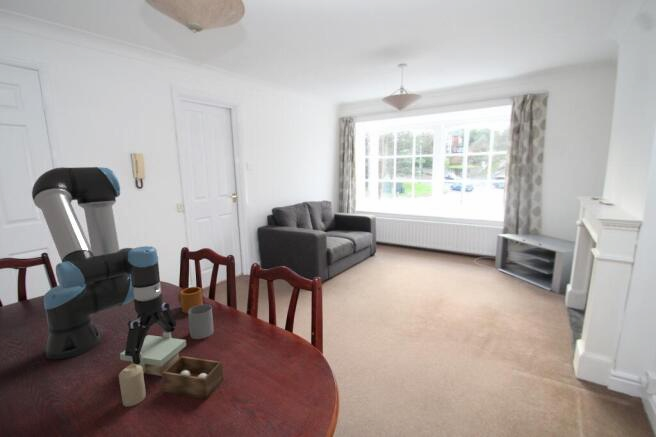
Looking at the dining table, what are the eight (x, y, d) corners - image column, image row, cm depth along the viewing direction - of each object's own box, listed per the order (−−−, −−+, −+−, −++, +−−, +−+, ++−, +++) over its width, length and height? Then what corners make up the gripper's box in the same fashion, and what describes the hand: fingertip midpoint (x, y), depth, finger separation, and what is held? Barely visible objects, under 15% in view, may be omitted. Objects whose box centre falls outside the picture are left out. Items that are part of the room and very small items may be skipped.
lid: (120, 359, 94) (119, 353, 93) (148, 340, 104) (148, 334, 104) (161, 366, 90) (160, 360, 90) (186, 345, 101) (185, 340, 100)
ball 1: (176, 383, 88) (175, 374, 88) (184, 376, 92) (183, 367, 91) (186, 385, 88) (185, 375, 87) (193, 378, 91) (192, 368, 90)
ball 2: (194, 387, 87) (193, 377, 87) (201, 379, 90) (200, 369, 90) (204, 388, 86) (203, 378, 86) (211, 381, 89) (210, 371, 89)
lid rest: (131, 370, 96) (130, 359, 95) (149, 357, 103) (148, 346, 102) (163, 376, 93) (162, 364, 93) (179, 362, 100) (178, 351, 99)
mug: (190, 301, 146) (189, 284, 145) (207, 307, 140) (206, 289, 139) (173, 308, 139) (172, 290, 137) (189, 315, 132) (188, 295, 131)
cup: (205, 340, 113) (203, 315, 111) (185, 338, 114) (183, 313, 113) (217, 328, 121) (215, 305, 119) (199, 326, 123) (197, 303, 121)
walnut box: (164, 391, 87) (162, 372, 86) (183, 373, 95) (181, 355, 94) (206, 399, 84) (205, 379, 83) (223, 379, 91) (221, 361, 90)
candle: (129, 392, 87) (125, 361, 85) (149, 391, 87) (145, 360, 85) (118, 407, 81) (113, 374, 80) (139, 406, 82) (135, 372, 80)
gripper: (125, 315, 82) (134, 387, 86) (184, 283, 104) (189, 341, 108) (102, 312, 84) (113, 383, 87) (165, 281, 106) (171, 339, 110)
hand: (155, 360), depth 98 cm, fingers closed on lid, 11 cm apart
